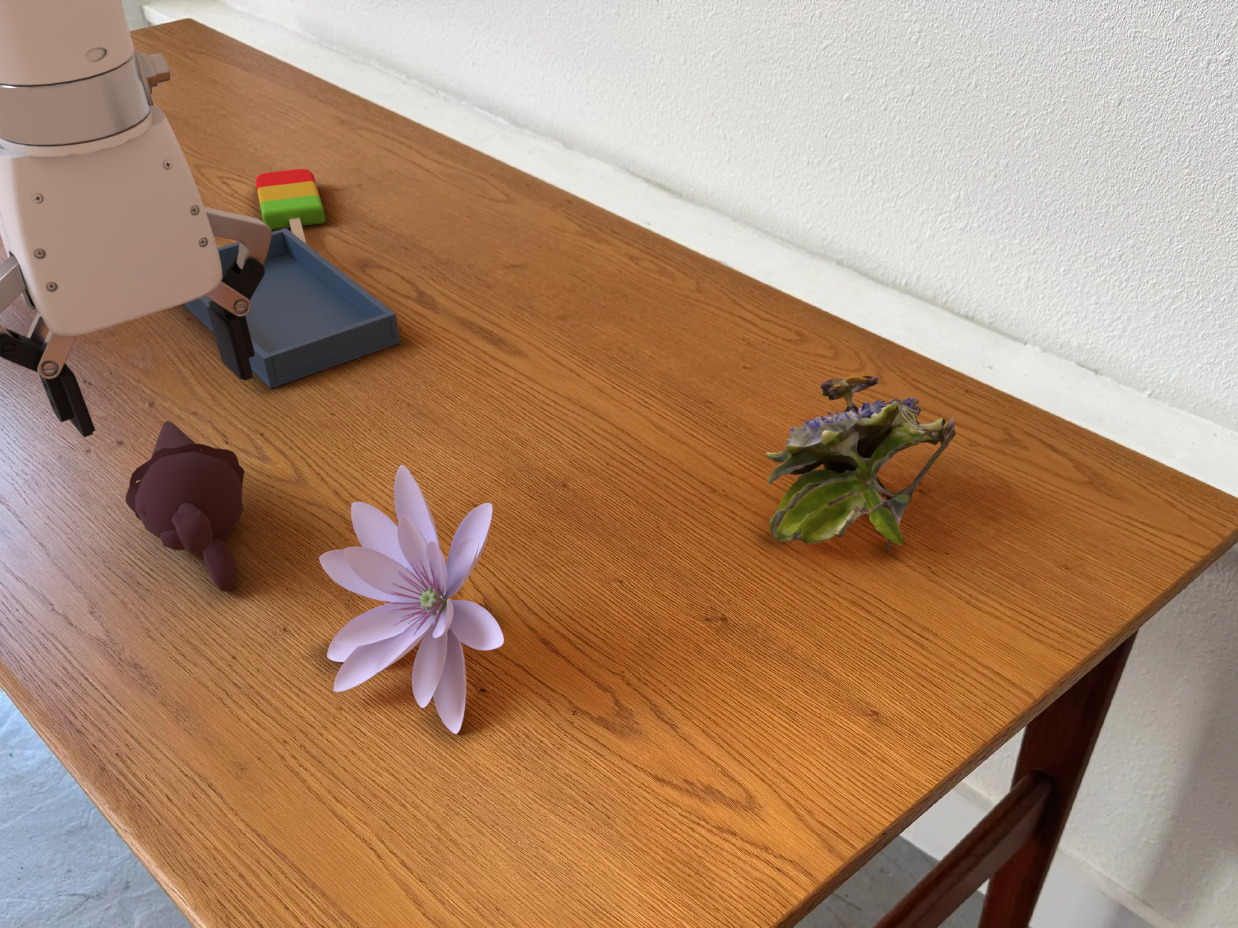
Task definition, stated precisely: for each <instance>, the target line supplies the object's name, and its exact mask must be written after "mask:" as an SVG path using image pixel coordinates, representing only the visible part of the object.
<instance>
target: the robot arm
mask: <svg viewBox="0 0 1238 928" xmlns="http://www.w3.org/2000/svg"><path fill="white" fill-rule="evenodd" d="M170 80H171V72H170V67H169V65H168V61H167V60H166V58H165V57H164V55H163V54H162V53H160V52H158V53H153V54H147V53H145V52H143V53H140V52H139V51H137V50H136V49H135V47H134V43H133V38H132V35H131V32H130V28H129V25H128V21H127V17H126V14H125V10H124V6H123V3H122V0H0V238H1V240H2V244H3V247H4V250H5V253H6V256H7V258H6V260H5V261H4V262H2V263H1V264H0V314H1V313H2V312H3V311H4V310H6V309H7V308H8V307H9V306H10V305H11V304H12V303H13V302H14V301H15V300H16V299H18V298H19V297H20V296H21V297H22V299H23V302H24V303H25V304H26V306H27V308H28V309H29V310H30V311H34V310H36V313H35V316H34V318H33V320H32V322H31V323H30V324H31V325H30V327H29V329H28V332H27V334H26V336H25V335H23V334H21V333H19V332H17V331H14V330H12V329H9V328H7V327H4V325H2V324H1V323H0V358H1V359H4V360H5V361H9V362H11V363H13V364H15V365H18V366H21V367H23V368H26V369H28V370H30V371H33V372H35V373H37V374H38V376H39V379H40V381H41V384H42V386H43V389H44V391H45V394H46V397H47V399H48V401H49V404H50V406H51V409H52V411H53V413H54V415H55V416H56V418H57V420H58V421H59V422H60V423H64V422H67V421H70V423H71V424H72V425H73V426H74V427H75V429H76V430H77V431H78V432H79V434H80V435H81V436H82V437H83V438H87V437H90V436H92V435H94V432H96V428H95V425H94V423H93V420H92V417H91V414H90V412H89V409H88V406H87V404H86V401H85V399H84V395H83V392H82V390H81V386H80V385H79V382H78V379H77V377H76V375H75V373H74V371H73V370H72V369H71V368H70V367H69V366H68V364H67V363H66V361H67V359H68V357H69V354H70V352H71V349H72V347H73V346H74V345H73V344H74V343H75V341H76V338H77V336H78V337H79V336H84V335H87V334H91V333H94V332H95V333H96V332H99V331H102V330H105V329H108V328H111V327H115V326H118V325H121V324H125V323H127V322H131V321H135V320H137V319H141V318H144V317H147V316H150V315H154V314H156V313H159V312H162V311H163V312H164V311H165V310H168V309H172V308H176V307H178V306H181V305H183V304H184V303H187V302H190V301H193V300H196V299H199V298H201V297H203V296H206V297H208V298H209V299H211V300H212V301H210V302H208V303H209V307H208V308H207V309H208V313H209V317H210V321H211V324H212V328H213V332H214V334H213V335H214V339H215V342H216V347H217V349H218V354H219V357H220V360H221V362H222V363H223V365H225V367H226V368H228V370H230V371H231V372H232V373H233V374H234V375H235V376H236V377H237V378H238V379H239V380H243V381H245V382H246V381H248V380H251V379H253V378H254V374H253V373H254V372H253V371H252V369H251V365H250V361H249V358H250V357H253V356H254V355H255V352H254V348H253V344H252V340H251V336H250V332H249V328H248V324H247V320H246V316H245V315H247V314H248V313H249V311H250V309H251V303H250V299H251V297H252V296H253V294H254V292H255V290H256V289H257V287H258V285H259V283H260V282H261V280H262V278H263V277H264V274H265V268H264V266H263V265H264V261H265V260H266V258H267V254H268V250H269V246H270V241H271V237H272V232H273V230H271V228H270V227H269V226H267V225H266V224H265V223H264V222H263V220H261V219H260V218H257V217H252V216H248V215H244V214H239V213H233V212H230V211H227V210H221V209H217V208H212V207H208V206H204V203H203V199H202V197H201V195H200V192H199V189H198V186H197V183H196V181H195V179H194V176H193V174H192V171H191V169H190V166H189V163H188V162H187V161H188V160H187V159H186V157H185V154H184V152H183V150H182V147H181V145H180V142H179V140H178V138H177V137H176V134H175V132H174V130H173V128H172V126H171V124H170V122H169V120H168V118H167V116H166V114H165V112H164V111H163V110H162V109H161V108H160V107H159V105H157V104H156V103H155V102H153V97H152V95H153V88H155V87H158V85H159V84H160V83H165V82H168V81H170ZM215 237H218V238H222V239H227V240H232V241H236V242H239V248H238V249H239V253H238V254H237V255H236V257H235V258H234V260H233V262H232V263H231V265H230V267H229V269H228V270H227V272H226V274H225V276H224V277H223V278H222V266H221V261H220V256H219V252H218V249H217V248H218V245H217V242H216V238H215Z"/></svg>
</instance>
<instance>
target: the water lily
mask: <svg viewBox="0 0 1238 928" xmlns="http://www.w3.org/2000/svg"><path fill="white" fill-rule="evenodd" d="M396 471H397V472H396V474H395V478H394V484H393V504H394V509H395V514H396V518H397V522H398V523H395V522H394V521H393V520H392V519H391V518H390V517H389V516H388V515H386V514H385V513H383V511H381V510H380V509H378V508H377V507H375V506H373V505H372V504H370V503H369V504H368V503H367V502H363V501H354V502H352V503H351V507H350V514H351V515H350V516H351V522H352V527H353V530H354V533H355V535H356V537H357V540H358V542H359V543H360V545H361V546H349V547H348V546H347V547H345V548H344V549H333V550H329V551H326V552H324V553H322V554H320V556H319V558H318V560H319V563H320V565H321V567H322V569H323V570H324V572H325V573H326V574H327V575H328V576H329V578H331V580H333V581H334V582H335V583H336V584H338V585H339V586H341V587H342V588H344V589H346V590H347V591H350V592H351V593H355V594H357V595H359V596H363V597H364V598H368V599H372V600H376V601H380V602H386V603H385V604H384V603H383V604H381V605H378V606H375V607H373V608H371V609H369V610H367V611H365V612H363V613H361V614H359V615H358V616H356V617H354V618H352V619H351V620H350V621H348V622H347V623H346V624H345V625H344V626H343V627H342V628H341V629H340V630H339V631H338V632H337V633H336V634H335V636H334V638H333V639H332V641H331V642H330V644H329V645H328V648H327V653H326V657H327V658H328V660H330V661H332V662H337V663H342V664H341V665H340V668H339V670H338V671H337V673H336V677H335V679H334V683H333V692H336V693H340V692H345V691H348V690H351V689H353V688H357V686H359V685H361V684H364V683H365V682H367V681H368V680H370V679H372V678H374V677H375V676H377V675H378V674H380V673H381V672H383V671H384V670H385V669H387V668H389V667H391V666H392V665H393V664H395V663H396V662H398V661H399V660H401V659H402V658H403V657H405V656H406V655H407V654H408V653H410V652H411V651H412V650H413V649H414V648H415V647H416V646H417V645H418V644H419V643H420V642H421V643H420V645H419V647H418V649H417V653H416V655H415V657H414V658H415V659H414V662H413V665H412V666H413V667H412V675H411V687H412V692H413V696H414V699H415V701H416V703H417V705H418V706H419V707H420V708H421V709H425V708H426V707H428V705H429V703H430V702H431V700H432V698H433V702H434V706H435V709H436V711H437V714H438V716H439V718H440V720H441V721H442V723H443V725H445V727H446V728H447V729H448V730H449V731H450V732H451V733H452V734H454V735H458V734H459V732H460V731H461V728H462V725H463V722H464V716H465V711H466V702H467V668H466V661H465V654H464V650H463V645H462V644H464V645H465V646H467V647H469V648H471V649H473V650H479V651H490V650H491V651H492V650H496V649H498V648H501V647H502V646H503V645H504V643H505V638H504V634H503V631H502V629H501V626H500V624H499V623H498V622H497V620H496V619H495V617H494V616H493V615H492V613H490V611H488V610H487V609H486V608H484V607H483V606H482V605H479V604H478V603H477V602H475V601H472V600H465V599H457V600H456V599H454V600H453V599H451V597H452V596H454V595H455V594H456V593H458V592H459V591H460V590H461V589H462V587H464V585H465V584H466V582H467V581H468V579H469V578H470V576H471V575H472V573H473V571H474V570H475V568H476V566H477V565H478V564H479V561H480V559H481V557H482V554H483V552H484V550H485V547H486V544H487V541H488V537H489V534H490V529H491V526H492V525H491V524H492V519H493V510H494V509H493V507H494V506H493V504H492V503H491V502H485V503H482V504H480V505H478V506H476V507H474V508H473V509H472V510H470V511H469V512H468V513H467V514H466V516H464V518H463V519H462V520H461V522H460V524H459V525H458V527H457V529H456V531H455V533H454V535H453V538H452V541H451V544H450V548H449V552H448V555H447V560H446V559H445V556H444V554H443V552H442V550H441V546H440V545H441V544H440V539H439V535H438V530H437V527H436V523H435V520H434V518H433V515H432V511H431V509H430V507H429V503H428V502H427V500H426V497H425V495H424V492H423V491H422V489H421V488H420V485H419V484H418V482H417V481H416V479H415V477H414V475H413V474H412V473H411V471H410V470H409V469H408V468H407V467H406V466H405V465H404V464H400V466H399V467H398V469H397V470H396Z"/></svg>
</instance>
